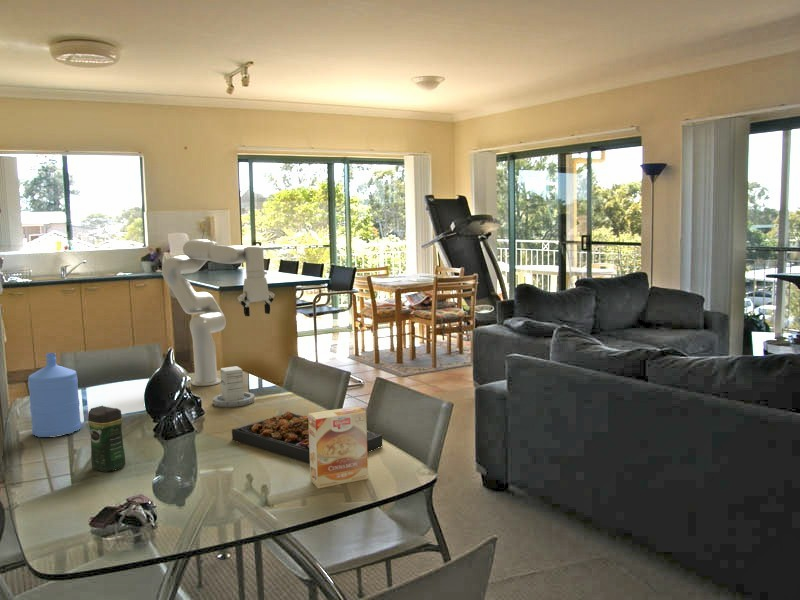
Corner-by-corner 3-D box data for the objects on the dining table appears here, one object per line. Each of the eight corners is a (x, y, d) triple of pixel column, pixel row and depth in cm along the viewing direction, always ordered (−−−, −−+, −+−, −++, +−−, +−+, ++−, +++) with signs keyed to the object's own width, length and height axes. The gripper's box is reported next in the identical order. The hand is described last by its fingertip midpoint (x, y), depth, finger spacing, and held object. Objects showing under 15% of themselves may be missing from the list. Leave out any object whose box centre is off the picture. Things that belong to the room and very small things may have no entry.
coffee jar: (130, 466, 213) (126, 406, 211) (107, 474, 207) (102, 412, 204) (110, 460, 218) (106, 402, 216) (87, 468, 212) (82, 408, 210)
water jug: (89, 430, 251) (82, 352, 247) (42, 441, 239) (35, 360, 236) (70, 422, 261) (64, 348, 258) (25, 432, 250) (18, 355, 247)
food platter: (382, 448, 225) (381, 417, 224) (326, 470, 206) (324, 436, 205) (289, 424, 254) (287, 396, 253) (232, 442, 236) (230, 412, 234)
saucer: (206, 402, 286) (206, 397, 285) (242, 395, 296) (242, 389, 296) (225, 409, 274) (224, 404, 273) (261, 402, 284) (261, 396, 284)
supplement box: (221, 398, 286) (219, 368, 285) (239, 396, 290) (237, 365, 288) (226, 402, 280) (224, 371, 278) (244, 399, 283) (243, 368, 282)
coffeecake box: (318, 489, 191) (315, 419, 189) (309, 480, 198) (306, 412, 195) (369, 479, 198) (367, 411, 195) (359, 471, 204) (357, 405, 202)
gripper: (268, 273, 309) (270, 311, 311) (232, 276, 297) (234, 316, 299) (277, 273, 303) (279, 313, 305) (241, 276, 292) (243, 318, 294)
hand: (257, 314), depth 302 cm, fingers open, 9 cm apart
